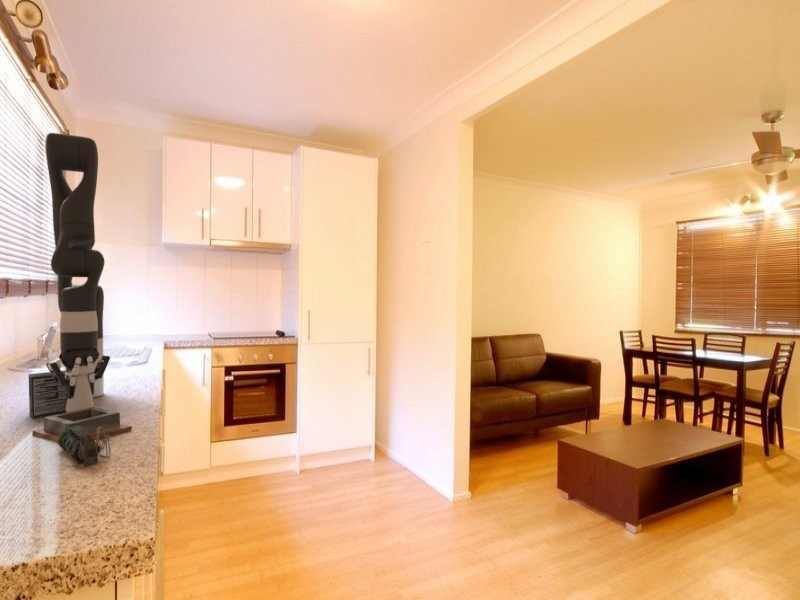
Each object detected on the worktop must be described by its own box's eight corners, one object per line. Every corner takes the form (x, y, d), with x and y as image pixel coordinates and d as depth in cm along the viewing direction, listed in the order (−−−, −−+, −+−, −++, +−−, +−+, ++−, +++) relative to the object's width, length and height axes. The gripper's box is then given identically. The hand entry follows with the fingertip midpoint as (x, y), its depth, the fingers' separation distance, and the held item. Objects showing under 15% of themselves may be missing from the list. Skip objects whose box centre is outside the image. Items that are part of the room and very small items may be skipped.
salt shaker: (79, 421, 106) (78, 367, 106) (59, 419, 107) (58, 366, 107) (100, 414, 112) (99, 363, 112) (81, 413, 113) (80, 362, 113)
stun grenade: (57, 454, 88) (76, 473, 78) (54, 423, 87) (72, 439, 78) (94, 443, 92) (116, 460, 83) (91, 414, 92) (112, 428, 82)
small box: (79, 406, 121) (78, 368, 120) (83, 411, 116) (83, 371, 116) (28, 413, 113) (28, 373, 113) (31, 419, 109) (30, 376, 108)
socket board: (32, 435, 97) (32, 416, 97) (91, 420, 107) (91, 404, 107) (72, 447, 89) (72, 427, 89) (131, 430, 100) (131, 413, 100)
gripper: (100, 326, 117) (101, 391, 118) (37, 331, 105) (38, 403, 105) (117, 328, 114) (118, 394, 114) (54, 332, 101) (55, 407, 102)
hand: (80, 398), depth 110 cm, fingers closed on salt shaker, 3 cm apart
